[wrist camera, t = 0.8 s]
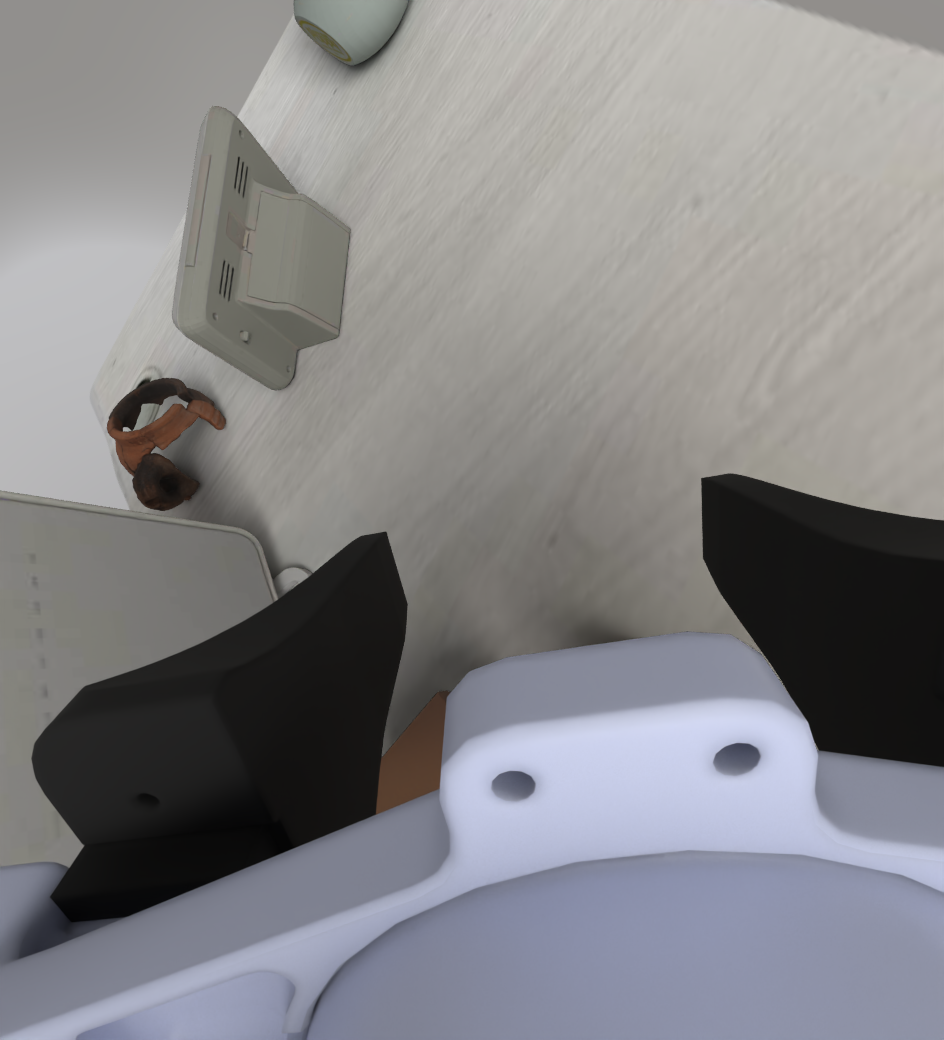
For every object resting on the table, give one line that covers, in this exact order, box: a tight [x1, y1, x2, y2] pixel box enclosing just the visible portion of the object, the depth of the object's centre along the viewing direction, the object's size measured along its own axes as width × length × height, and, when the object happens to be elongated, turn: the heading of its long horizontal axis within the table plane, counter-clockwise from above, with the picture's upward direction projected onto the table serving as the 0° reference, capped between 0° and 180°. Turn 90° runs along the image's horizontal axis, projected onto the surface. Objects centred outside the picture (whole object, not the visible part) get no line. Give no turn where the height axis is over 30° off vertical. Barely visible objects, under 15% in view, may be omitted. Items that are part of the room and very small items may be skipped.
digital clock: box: [172, 106, 350, 390], centre depth 40 cm, size 16×9×11 cm, turn 165°
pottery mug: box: [107, 378, 226, 511], centre depth 49 cm, size 12×10×8 cm
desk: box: [376, 690, 451, 815], centre depth 24 cm, size 13×9×7 cm
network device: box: [0, 491, 313, 868], centre depth 30 cm, size 26×9×20 cm, turn 32°
